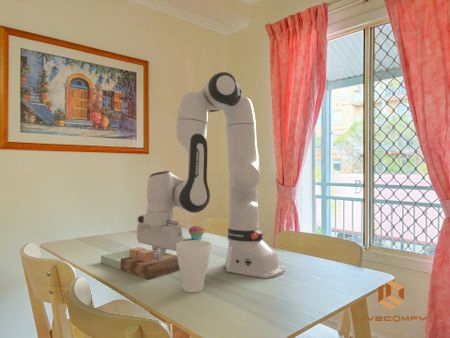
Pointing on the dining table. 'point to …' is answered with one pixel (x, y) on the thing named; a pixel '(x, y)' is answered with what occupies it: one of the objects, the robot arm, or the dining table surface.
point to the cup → (193, 263)
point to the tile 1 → (135, 252)
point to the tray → (114, 258)
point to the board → (150, 266)
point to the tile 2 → (145, 255)
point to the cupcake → (196, 232)
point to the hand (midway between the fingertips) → (158, 259)
